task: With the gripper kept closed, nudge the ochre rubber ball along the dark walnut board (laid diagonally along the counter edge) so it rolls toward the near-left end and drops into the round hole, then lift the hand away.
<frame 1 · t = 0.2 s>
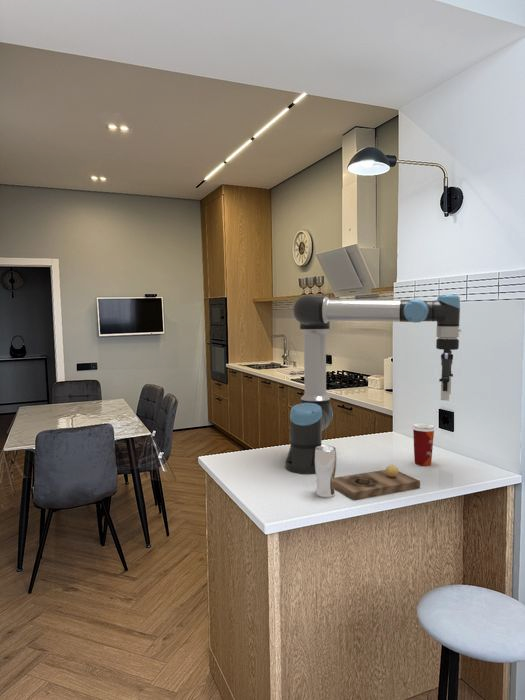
hand: (445, 397, 177), 27 cm above the table, fingers open, 13 cm apart
ball: (391, 471, 166), point 4 cm above the table, touching board
board: (374, 486, 163), on the table
coffee cup: (422, 464, 188), on the table
beer glass: (325, 494, 157), on the table
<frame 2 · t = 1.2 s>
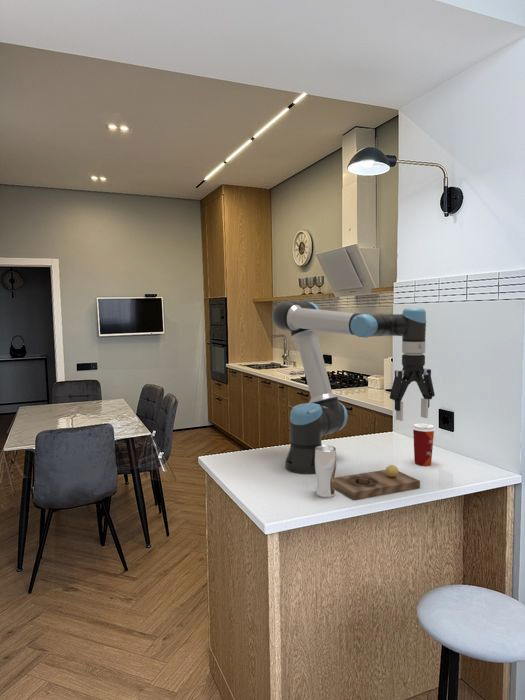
hand: (411, 418, 168), 22 cm above the table, fingers open, 10 cm apart
nothing on the table moved.
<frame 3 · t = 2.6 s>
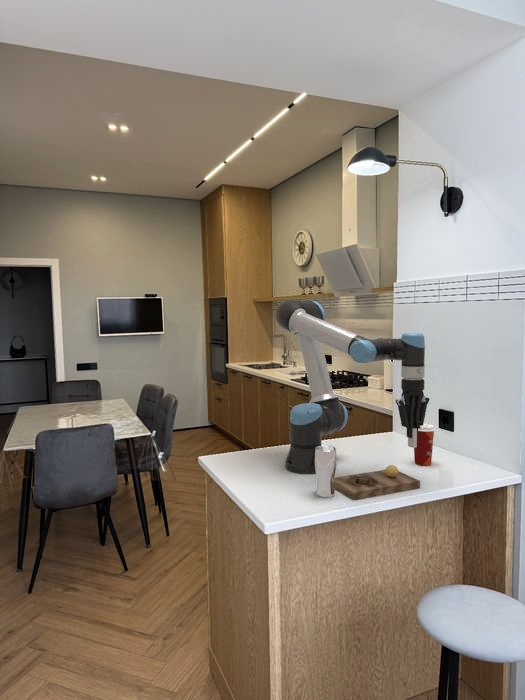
hand: (412, 446, 168), 12 cm above the table, fingers closed
nothing on the table moved.
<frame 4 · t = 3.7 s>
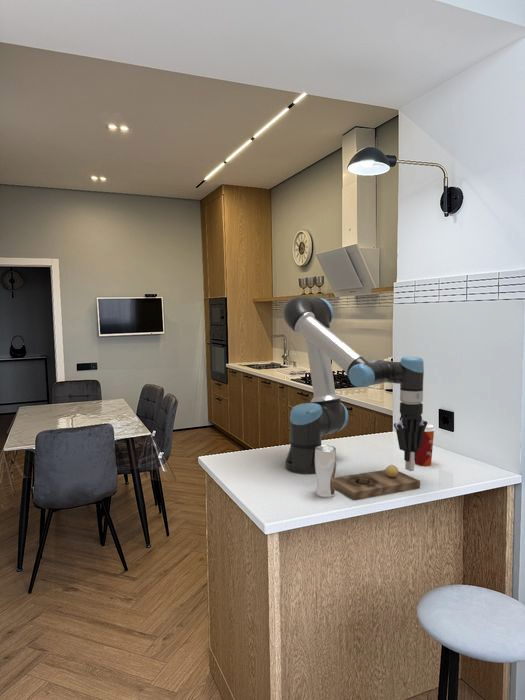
hand: (409, 469, 169), 4 cm above the table, fingers closed
nothing on the table moved.
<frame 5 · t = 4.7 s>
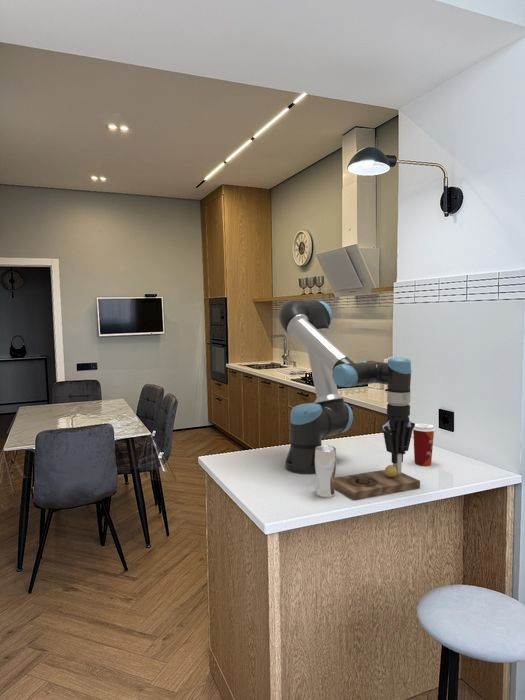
hand: (396, 472, 167), 4 cm above the table, fingers closed
ball: (391, 471, 165), point 4 cm above the table, tilted 10°, touching board, gripper
everything else where it was.
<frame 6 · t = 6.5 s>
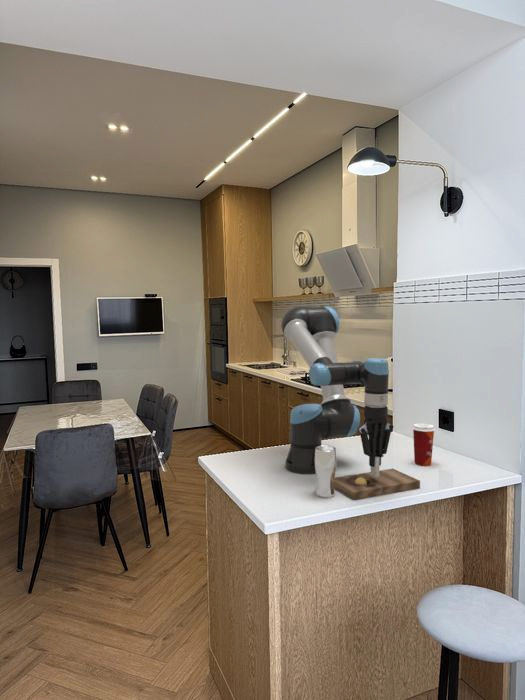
hand: (374, 475, 163), 4 cm above the table, fingers closed
ball: (360, 483, 161), point 2 cm above the table, tilted 6°
everything else where it was.
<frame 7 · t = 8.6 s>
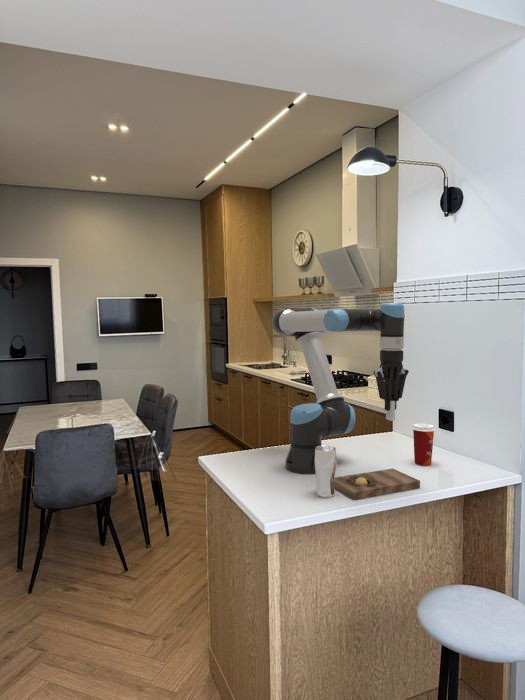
hand: (390, 419, 164), 22 cm above the table, fingers closed
ball: (361, 483, 161), point 2 cm above the table, tilted 12°
everything else where it was.
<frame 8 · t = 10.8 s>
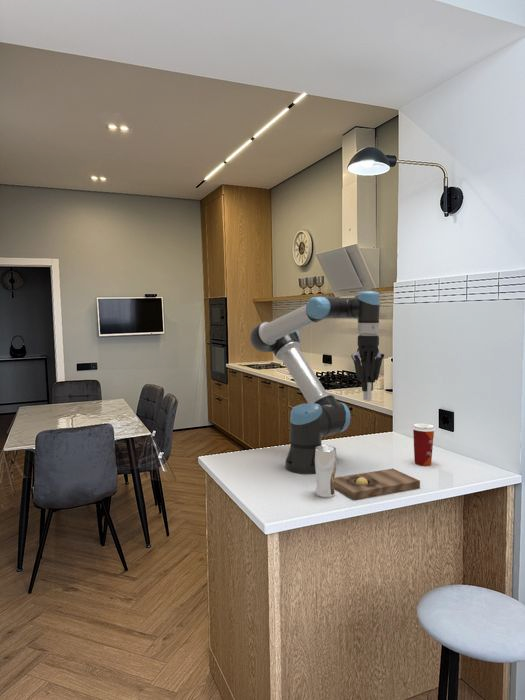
hand: (367, 400, 177), 26 cm above the table, fingers closed
ball: (361, 483, 161), point 2 cm above the table, tilted 18°
everything else where it was.
at the end: ball 0.2 cm from the target spot in the board, point 2.0 cm above the board's base; ball point 2.0 cm above the table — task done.
